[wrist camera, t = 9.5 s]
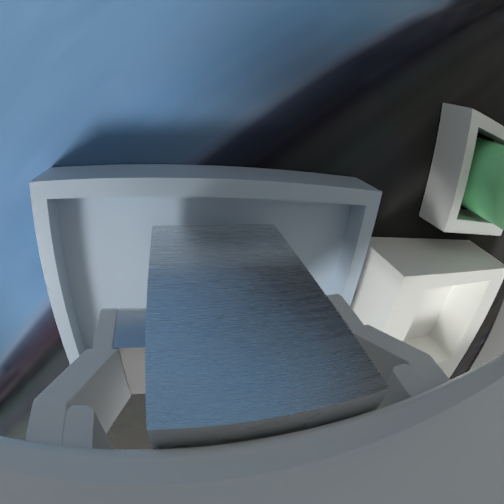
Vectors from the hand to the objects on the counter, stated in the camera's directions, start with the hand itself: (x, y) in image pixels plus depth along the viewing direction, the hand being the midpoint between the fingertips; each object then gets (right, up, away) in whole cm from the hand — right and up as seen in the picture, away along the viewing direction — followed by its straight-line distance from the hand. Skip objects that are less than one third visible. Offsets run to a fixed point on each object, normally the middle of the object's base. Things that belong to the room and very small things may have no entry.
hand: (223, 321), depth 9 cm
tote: (-1, +1, +4) cm, 4 cm away
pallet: (+9, -3, +9) cm, 14 cm away
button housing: (+13, +6, +5) cm, 15 cm away
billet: (-1, +1, +2) cm, 2 cm away
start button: (+13, +6, +4) cm, 15 cm away
